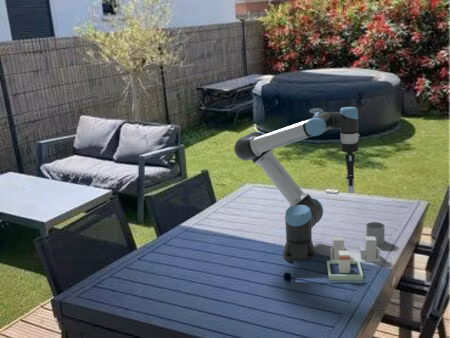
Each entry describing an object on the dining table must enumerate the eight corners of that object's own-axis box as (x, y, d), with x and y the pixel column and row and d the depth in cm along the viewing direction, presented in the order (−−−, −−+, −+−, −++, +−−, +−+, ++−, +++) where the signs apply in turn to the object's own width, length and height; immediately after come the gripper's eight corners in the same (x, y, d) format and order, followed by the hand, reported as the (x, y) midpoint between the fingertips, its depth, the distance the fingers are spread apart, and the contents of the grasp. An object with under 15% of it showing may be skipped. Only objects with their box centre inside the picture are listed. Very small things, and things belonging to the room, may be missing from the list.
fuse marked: (339, 274, 209) (339, 255, 207) (338, 269, 213) (338, 250, 211) (350, 274, 208) (350, 255, 206) (349, 269, 213) (349, 250, 210)
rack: (330, 264, 220) (330, 253, 219) (329, 255, 229) (329, 244, 227) (380, 264, 217) (380, 253, 215) (377, 255, 225) (377, 244, 224)
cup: (364, 247, 236) (364, 227, 233) (368, 240, 243) (368, 221, 240) (382, 249, 232) (382, 229, 229) (385, 242, 239) (386, 223, 236)
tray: (328, 280, 206) (328, 275, 205) (326, 266, 219) (326, 260, 218) (363, 281, 203) (363, 275, 203) (359, 266, 217) (359, 260, 216)
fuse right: (366, 259, 220) (366, 240, 217) (364, 254, 224) (364, 236, 222) (376, 259, 219) (376, 240, 217) (374, 254, 223) (374, 236, 221)
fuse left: (333, 259, 222) (333, 240, 220) (333, 255, 226) (332, 236, 224) (343, 259, 221) (343, 240, 219) (343, 255, 225) (342, 236, 223)
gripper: (359, 148, 206) (360, 196, 211) (357, 136, 230) (357, 180, 235) (341, 148, 208) (342, 196, 213) (340, 137, 231) (341, 180, 237)
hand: (350, 188), depth 224 cm, fingers open, 13 cm apart
